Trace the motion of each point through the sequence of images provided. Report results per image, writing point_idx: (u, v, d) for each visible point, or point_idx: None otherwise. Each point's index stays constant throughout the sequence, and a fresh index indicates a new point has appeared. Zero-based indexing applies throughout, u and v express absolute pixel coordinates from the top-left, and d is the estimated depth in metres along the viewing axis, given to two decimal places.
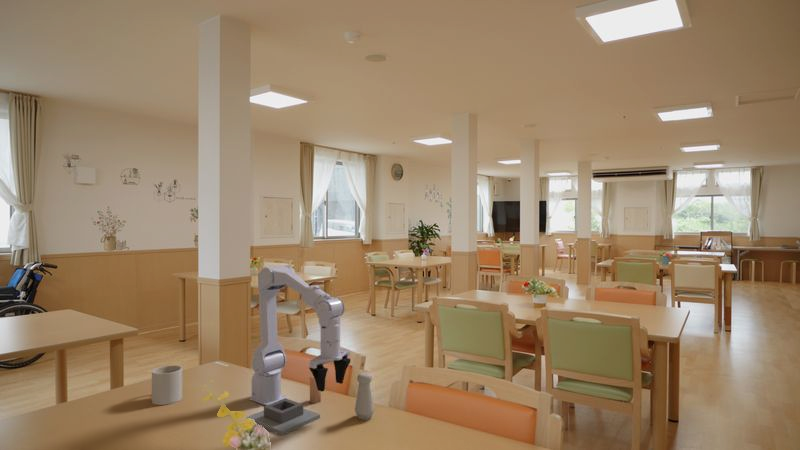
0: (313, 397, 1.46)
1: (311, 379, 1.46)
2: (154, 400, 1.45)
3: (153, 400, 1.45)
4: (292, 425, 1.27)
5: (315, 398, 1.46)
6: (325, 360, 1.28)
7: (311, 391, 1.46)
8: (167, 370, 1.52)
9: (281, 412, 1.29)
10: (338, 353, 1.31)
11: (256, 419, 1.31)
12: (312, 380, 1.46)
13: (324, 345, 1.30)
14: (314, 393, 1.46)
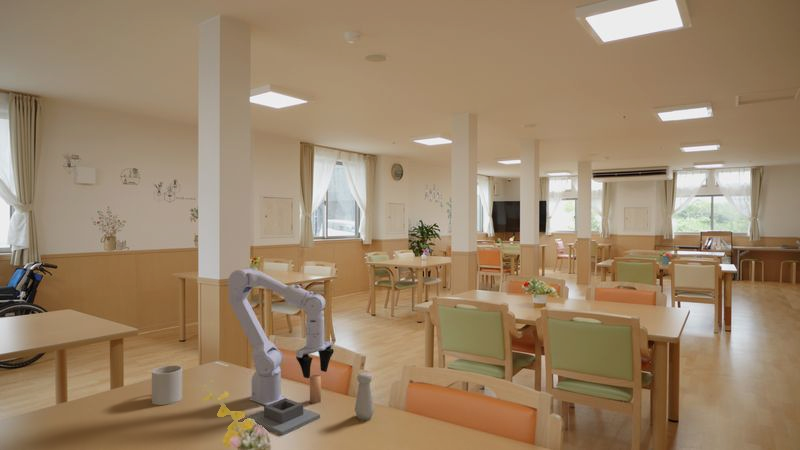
0: (313, 397, 1.46)
1: (311, 379, 1.46)
2: (154, 400, 1.45)
3: (153, 400, 1.45)
4: (292, 425, 1.27)
5: (315, 398, 1.46)
6: (310, 350, 1.43)
7: (311, 391, 1.46)
8: (167, 370, 1.52)
9: (281, 412, 1.29)
10: (322, 344, 1.46)
11: (256, 419, 1.31)
12: (312, 380, 1.46)
13: (309, 337, 1.45)
14: (314, 393, 1.46)
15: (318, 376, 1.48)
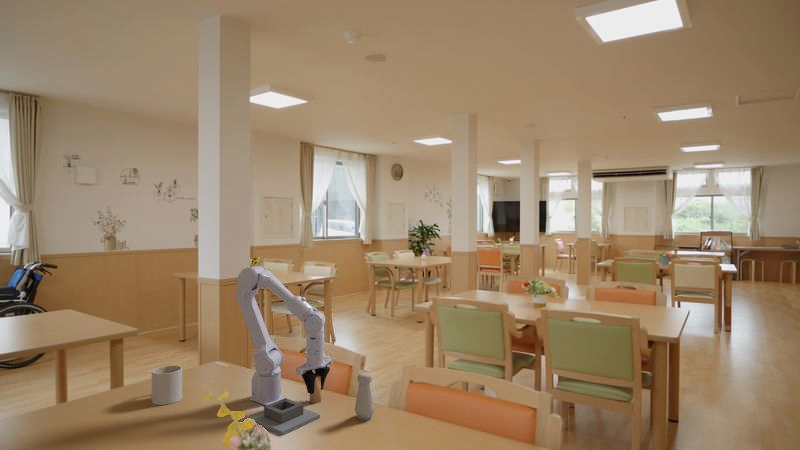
0: (313, 397, 1.46)
1: None
2: (154, 400, 1.45)
3: (153, 400, 1.45)
4: (292, 425, 1.27)
5: (315, 398, 1.46)
6: (310, 367, 1.43)
7: None
8: (167, 370, 1.52)
9: (281, 412, 1.29)
10: (322, 361, 1.46)
11: (256, 419, 1.31)
12: None
13: (309, 354, 1.45)
14: (314, 393, 1.46)
15: (318, 376, 1.47)
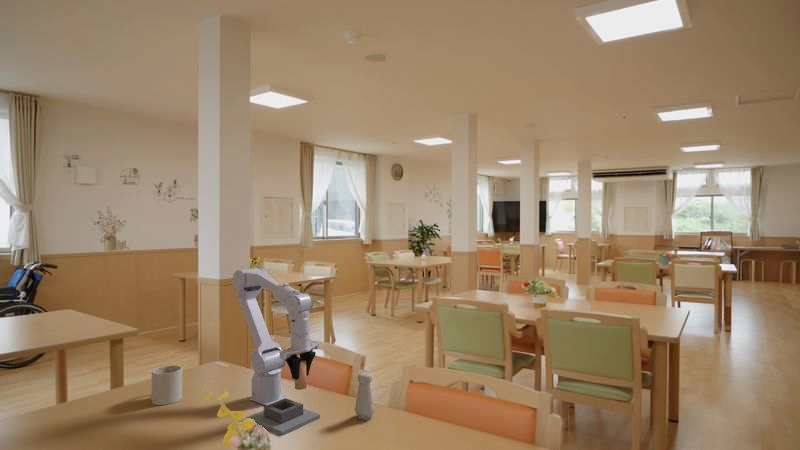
0: (298, 383, 1.39)
1: None
2: (154, 400, 1.45)
3: (153, 400, 1.45)
4: (292, 425, 1.27)
5: (300, 384, 1.39)
6: (294, 352, 1.36)
7: None
8: (167, 370, 1.52)
9: (281, 412, 1.29)
10: (307, 345, 1.39)
11: (256, 419, 1.31)
12: None
13: (294, 338, 1.38)
14: (299, 379, 1.38)
15: (303, 361, 1.40)
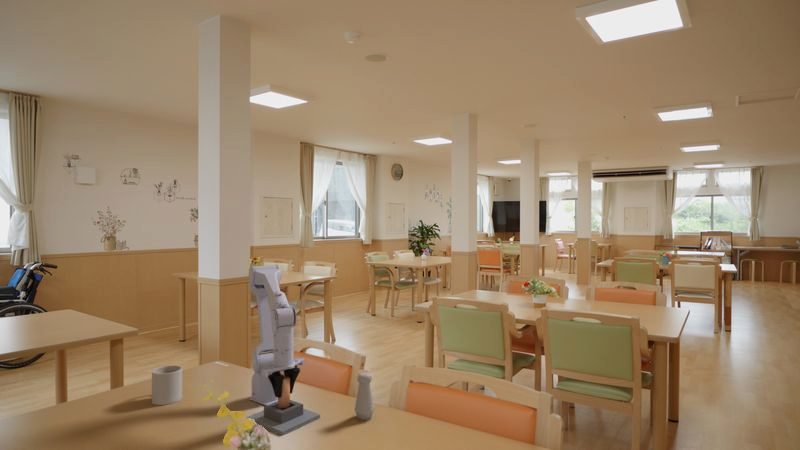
0: (280, 402, 1.32)
1: None
2: (154, 400, 1.45)
3: (153, 400, 1.45)
4: (292, 425, 1.27)
5: (283, 402, 1.32)
6: (277, 369, 1.30)
7: None
8: (167, 370, 1.52)
9: (281, 412, 1.29)
10: (291, 362, 1.33)
11: (256, 419, 1.31)
12: None
13: (276, 354, 1.31)
14: (282, 397, 1.32)
15: (287, 378, 1.34)
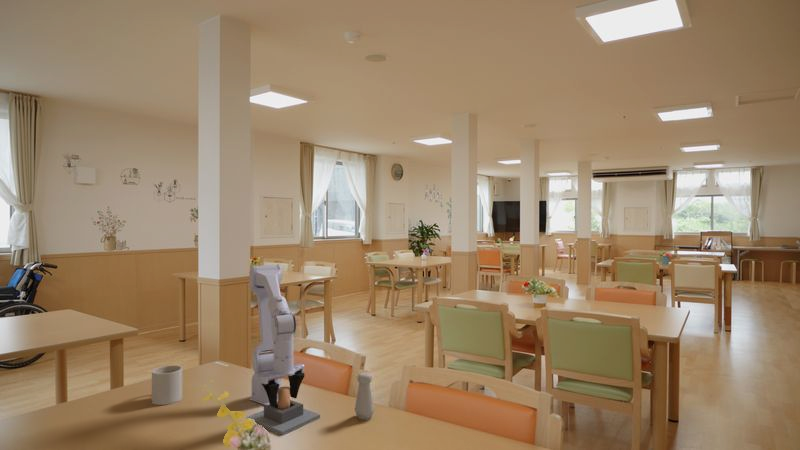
0: None
1: (279, 391, 1.32)
2: (154, 400, 1.45)
3: (153, 400, 1.45)
4: (292, 425, 1.27)
5: None
6: (277, 376, 1.30)
7: (279, 405, 1.32)
8: (167, 370, 1.52)
9: (281, 412, 1.29)
10: (291, 368, 1.33)
11: (256, 419, 1.31)
12: (280, 393, 1.32)
13: (276, 361, 1.31)
14: (282, 407, 1.32)
15: (287, 388, 1.34)
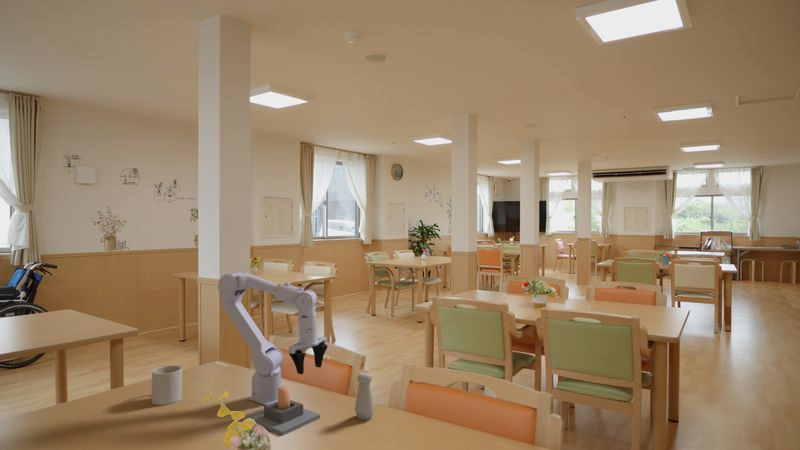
0: None
1: (279, 391, 1.32)
2: (154, 400, 1.45)
3: (153, 400, 1.45)
4: (292, 425, 1.27)
5: None
6: (303, 346, 1.43)
7: (279, 405, 1.32)
8: (167, 370, 1.52)
9: (281, 412, 1.29)
10: (315, 339, 1.46)
11: (256, 419, 1.31)
12: (280, 393, 1.32)
13: (301, 332, 1.44)
14: (282, 407, 1.32)
15: (287, 388, 1.34)
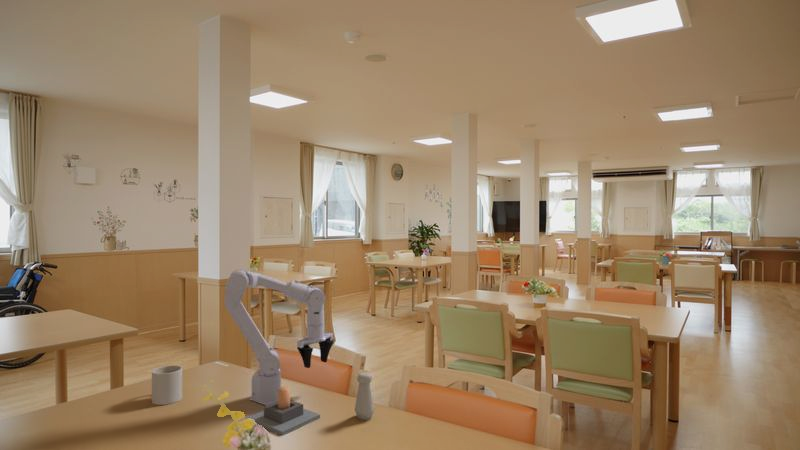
0: None
1: (279, 391, 1.32)
2: (154, 400, 1.45)
3: (153, 400, 1.45)
4: (292, 425, 1.27)
5: None
6: (311, 341, 1.49)
7: (279, 405, 1.32)
8: (167, 370, 1.52)
9: (281, 412, 1.29)
10: (322, 335, 1.52)
11: (256, 419, 1.31)
12: (280, 393, 1.32)
13: (310, 328, 1.50)
14: (282, 407, 1.32)
15: (287, 388, 1.34)
